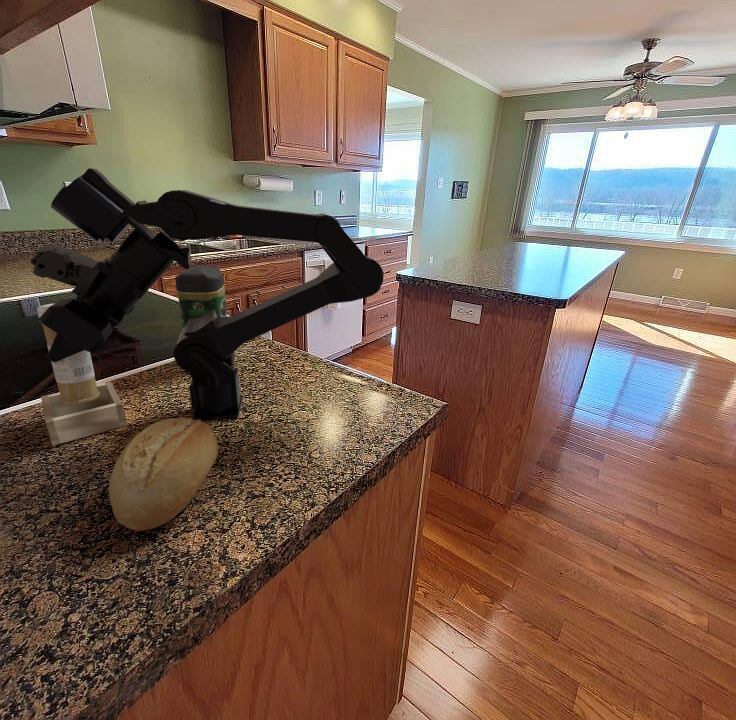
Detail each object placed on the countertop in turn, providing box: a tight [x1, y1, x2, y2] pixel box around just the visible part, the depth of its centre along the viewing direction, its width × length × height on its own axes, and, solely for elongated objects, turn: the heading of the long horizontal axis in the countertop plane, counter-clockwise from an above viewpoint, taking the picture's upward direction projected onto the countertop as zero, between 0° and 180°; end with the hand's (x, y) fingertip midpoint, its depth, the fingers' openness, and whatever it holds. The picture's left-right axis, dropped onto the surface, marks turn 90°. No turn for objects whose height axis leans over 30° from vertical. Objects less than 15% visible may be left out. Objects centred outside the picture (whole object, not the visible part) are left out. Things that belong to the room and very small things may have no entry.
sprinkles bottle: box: [36, 302, 99, 405], centre depth 53 cm, size 5×5×14 cm
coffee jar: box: [174, 264, 228, 329], centre depth 76 cm, size 10×8×19 cm
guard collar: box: [40, 381, 128, 446], centre depth 57 cm, size 9×9×4 cm
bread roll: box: [108, 417, 219, 532], centre depth 44 cm, size 10×15×8 cm, turn 1°
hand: (58, 353), depth 53 cm, fingers closed on sprinkles bottle, 4 cm apart
